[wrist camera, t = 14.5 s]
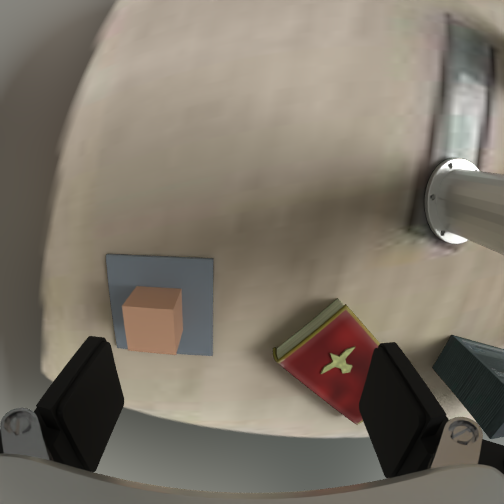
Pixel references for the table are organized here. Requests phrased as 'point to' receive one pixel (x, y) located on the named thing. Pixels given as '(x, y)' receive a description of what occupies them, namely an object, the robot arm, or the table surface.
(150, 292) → the terracotta cube
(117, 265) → the slate mat
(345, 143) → the table surface
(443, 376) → the cassette player
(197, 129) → the table surface
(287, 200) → the table surface
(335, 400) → the hardcover book
